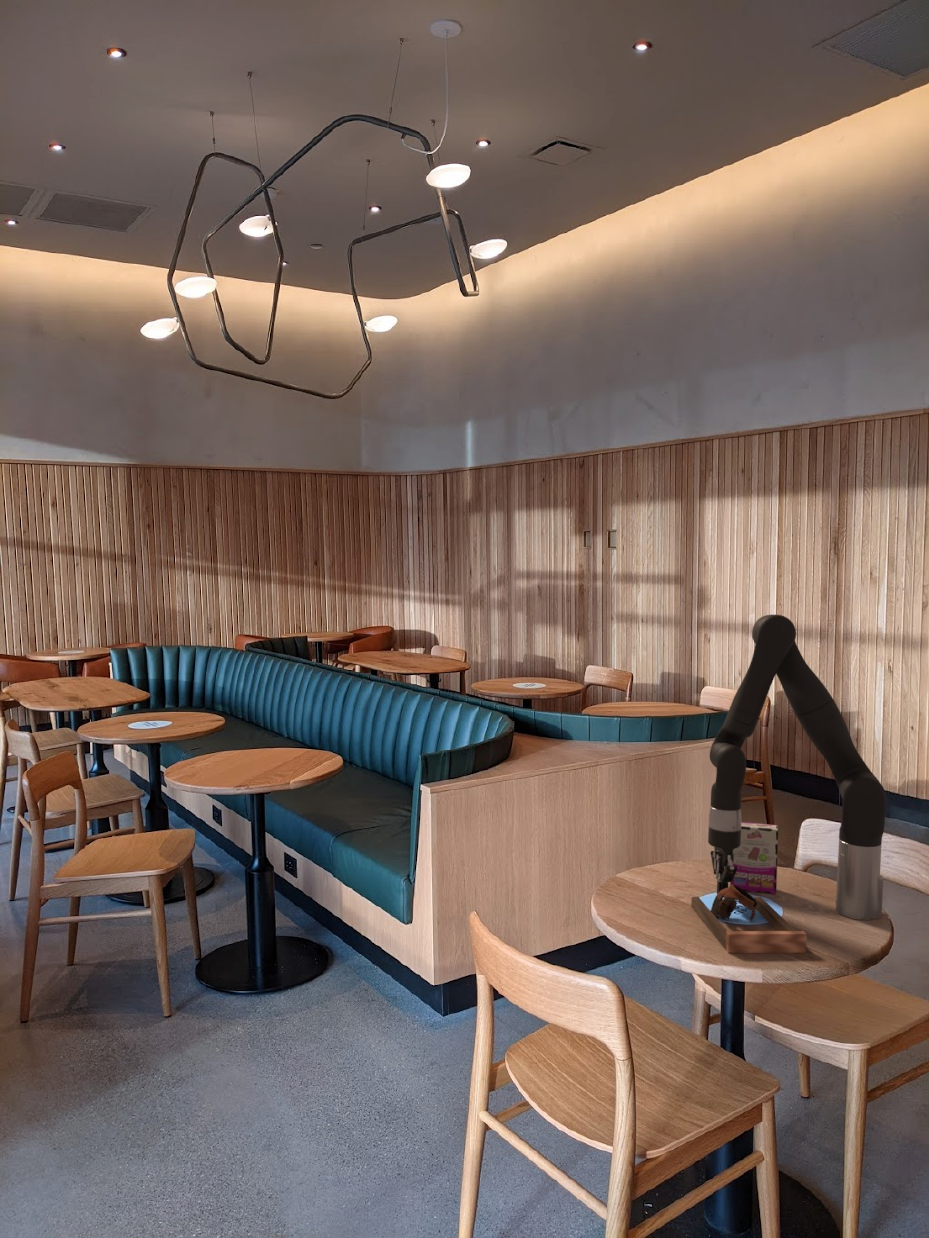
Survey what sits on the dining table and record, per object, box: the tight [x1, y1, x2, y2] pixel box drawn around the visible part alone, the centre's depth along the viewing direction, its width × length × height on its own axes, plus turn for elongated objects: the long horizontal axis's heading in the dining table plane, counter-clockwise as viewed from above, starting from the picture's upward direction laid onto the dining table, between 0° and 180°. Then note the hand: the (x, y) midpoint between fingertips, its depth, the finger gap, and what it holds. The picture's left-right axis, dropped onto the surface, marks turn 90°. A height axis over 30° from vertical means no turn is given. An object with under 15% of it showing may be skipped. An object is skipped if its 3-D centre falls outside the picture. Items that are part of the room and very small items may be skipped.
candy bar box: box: [729, 821, 779, 895], centre depth 236 cm, size 11×5×16 cm, turn 73°
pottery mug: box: [710, 884, 758, 922], centre depth 217 cm, size 12×10×8 cm
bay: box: [690, 896, 807, 954], centre depth 211 cm, size 17×26×4 cm, turn 3°
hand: (722, 896), depth 227 cm, fingers closed
